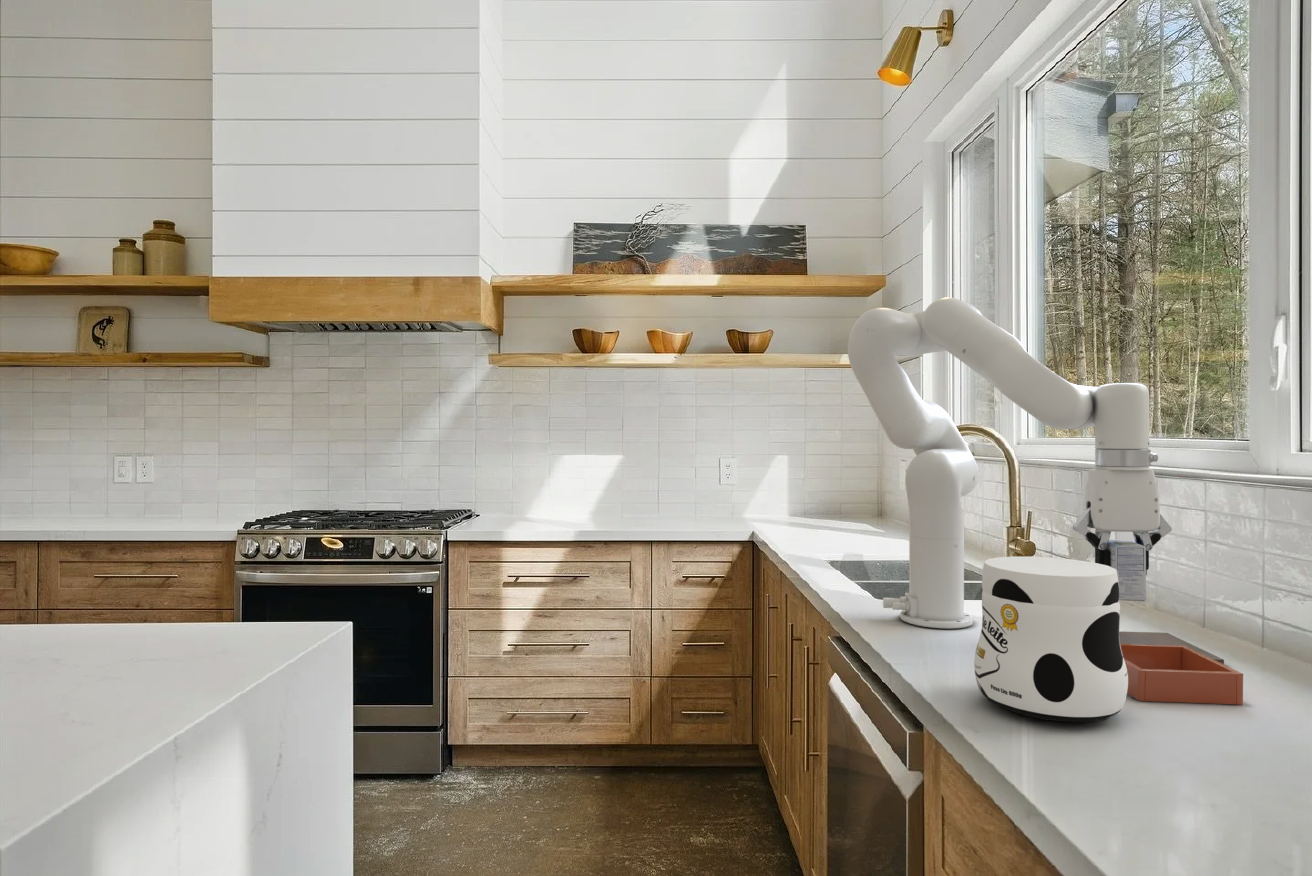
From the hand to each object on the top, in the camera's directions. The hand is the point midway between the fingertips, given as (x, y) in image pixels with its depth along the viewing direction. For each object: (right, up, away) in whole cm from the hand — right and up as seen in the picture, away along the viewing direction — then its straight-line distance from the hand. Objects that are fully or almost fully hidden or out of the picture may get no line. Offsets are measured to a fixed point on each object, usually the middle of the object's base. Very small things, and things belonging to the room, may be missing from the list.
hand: (1121, 572), depth 127 cm
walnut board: (0, -12, 0) cm, 12 cm away
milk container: (-25, -13, -27) cm, 39 cm away
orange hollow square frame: (-5, -12, -18) cm, 23 cm away
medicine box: (0, -4, 0) cm, 4 cm away
